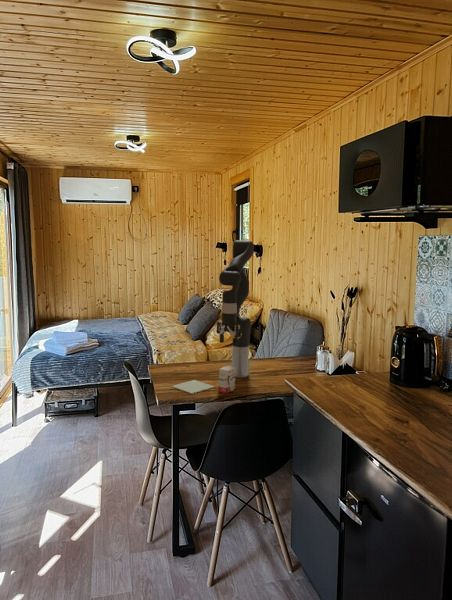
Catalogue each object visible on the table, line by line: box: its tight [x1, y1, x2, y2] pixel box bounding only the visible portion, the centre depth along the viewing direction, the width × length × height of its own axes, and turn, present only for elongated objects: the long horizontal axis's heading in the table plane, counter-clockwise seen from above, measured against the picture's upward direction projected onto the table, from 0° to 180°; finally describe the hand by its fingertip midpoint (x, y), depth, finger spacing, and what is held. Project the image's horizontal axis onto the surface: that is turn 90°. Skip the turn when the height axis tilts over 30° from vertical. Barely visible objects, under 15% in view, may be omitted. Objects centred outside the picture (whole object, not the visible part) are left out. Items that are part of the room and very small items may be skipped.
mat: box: [171, 379, 215, 395], centre depth 239 cm, size 16×15×1 cm
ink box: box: [218, 365, 236, 394], centre depth 235 cm, size 9×5×12 cm, turn 148°
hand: (228, 343), depth 233 cm, fingers open, 8 cm apart
